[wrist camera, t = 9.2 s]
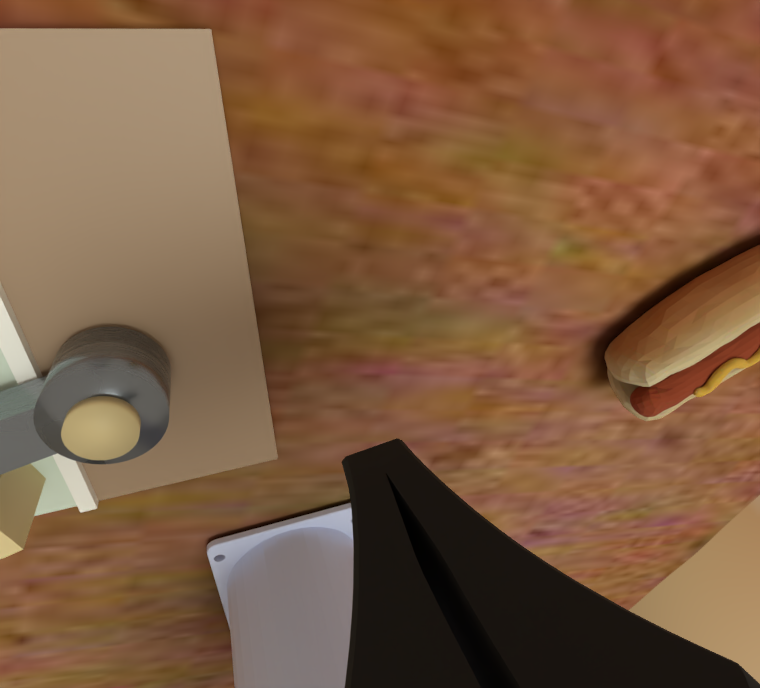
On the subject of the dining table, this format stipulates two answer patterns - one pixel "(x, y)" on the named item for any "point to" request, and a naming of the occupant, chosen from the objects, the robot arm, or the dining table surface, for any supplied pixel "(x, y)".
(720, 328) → the food
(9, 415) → the latch bar
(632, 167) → the dining table surface
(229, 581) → the robot arm
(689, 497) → the dining table surface
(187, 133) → the board
